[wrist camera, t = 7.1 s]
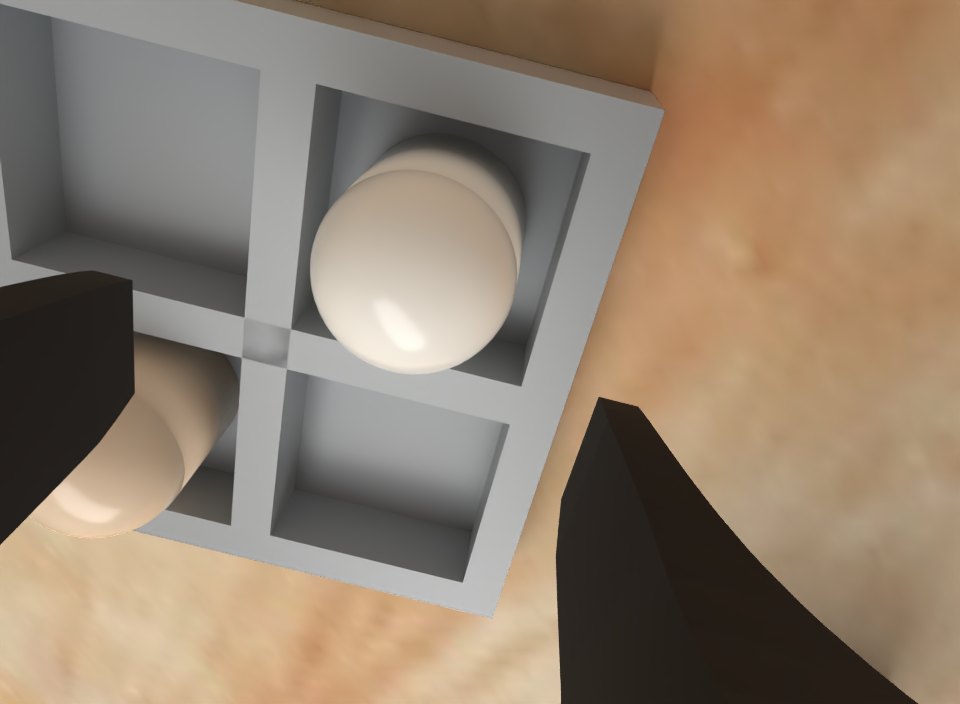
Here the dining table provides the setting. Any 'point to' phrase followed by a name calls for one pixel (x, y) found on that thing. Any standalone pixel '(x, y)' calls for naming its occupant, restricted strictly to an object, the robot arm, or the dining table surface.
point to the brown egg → (148, 442)
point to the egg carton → (287, 252)
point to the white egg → (421, 255)
